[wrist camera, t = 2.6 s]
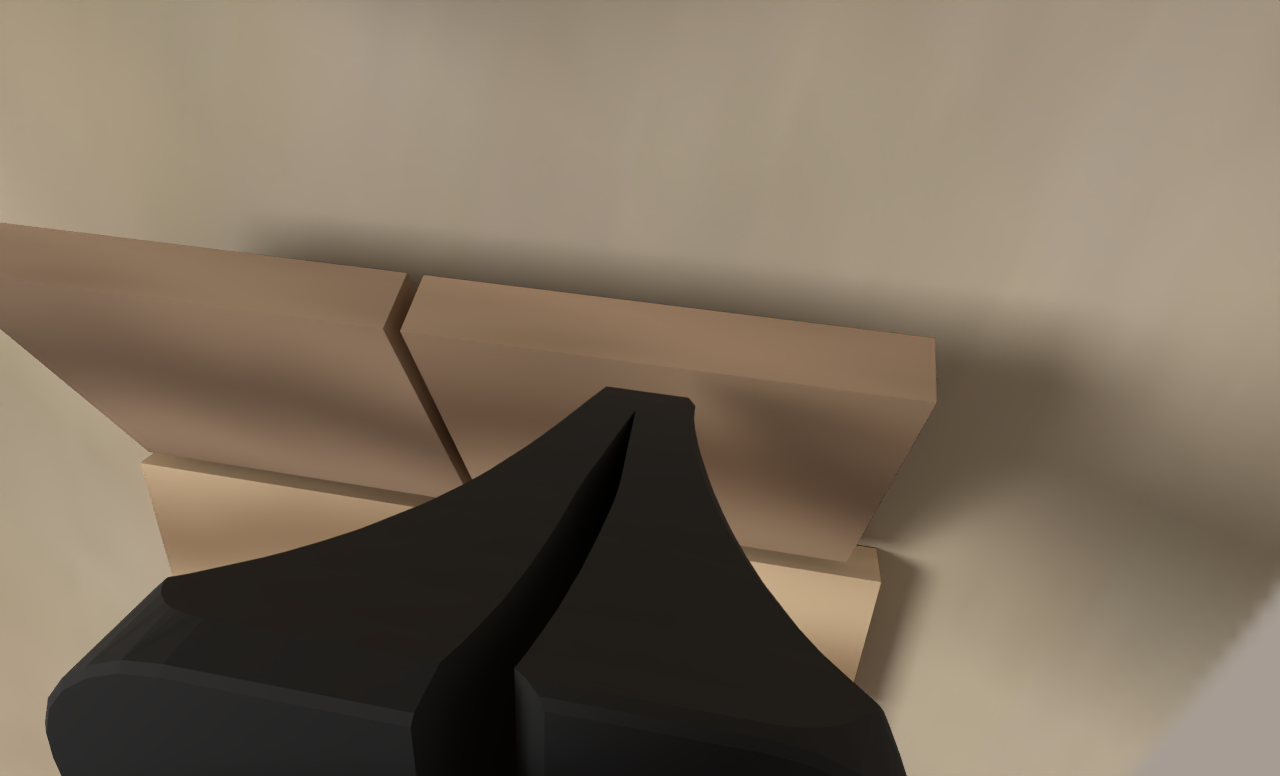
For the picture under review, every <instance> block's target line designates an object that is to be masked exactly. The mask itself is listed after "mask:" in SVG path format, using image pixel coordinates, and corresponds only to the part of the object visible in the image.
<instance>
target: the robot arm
mask: <svg viewBox="0 0 1280 776" xmlns="http://www.w3.org/2000/svg"><path fill="white" fill-rule="evenodd" d="M694 415H695V405H694V404H693V402H692V401H691V400H690V399H689V398H688V397H680V396H673V395H666V394H659V393H651V392H644V391H637V390H630V389H622V388H615V387H608V386H606V387H605V388H603V389H602V390H601V391H599V392H598V393H597V394H595V395H594V396H592V397H591V398H590V399H589V400H587V401H586V402H585V403H583V404H582V405H581V406H580V407H578V408H577V409H576V410H575V411H573V412H572V413H571V414H569V415H568V416H567V417H565V418H564V419H563V420H562V421H560V422H559V423H558V424H556V425H555V426H554V427H552V428H551V429H550V430H548V431H547V432H545V433H544V434H543V435H541V436H540V437H539V438H537V439H536V440H534V441H533V442H532V443H530V444H529V445H527V446H526V447H524V448H523V449H521V450H520V451H518V452H516V453H515V454H513V455H512V456H510V457H509V458H507V459H505V460H504V461H502V462H501V463H499V464H498V465H496V466H495V467H493V468H491V469H490V470H488V471H486V472H485V473H483V474H481V475H479V476H478V477H476V478H474V479H472V480H470V481H468V482H466V483H465V484H463V485H461V486H459V487H457V488H455V489H453V490H451V491H449V492H446V493H444V494H442V495H440V496H438V497H436V498H434V499H432V500H430V501H428V502H426V503H423V504H421V505H419V506H416V507H414V508H411V509H408V510H406V511H403V512H401V513H398V514H396V515H393V516H391V517H388V518H386V519H383V520H381V521H378V522H376V523H373V524H371V525H368V526H366V527H363V528H360V529H357V530H355V531H351V532H348V533H345V534H342V535H339V536H336V537H333V538H330V539H327V540H324V541H320V542H317V543H313V544H310V545H306V546H303V547H300V548H296V549H293V550H289V551H286V552H282V553H278V554H274V555H270V556H266V557H262V558H258V559H253V560H249V561H244V562H239V563H235V564H230V565H226V566H221V567H216V568H212V569H207V570H203V571H198V572H193V573H189V574H183V575H178V576H172V577H167V578H166V579H165V580H164V581H163V582H162V583H161V584H160V585H158V586H157V587H156V588H155V589H154V590H153V591H152V592H151V593H150V594H149V595H148V596H147V597H146V598H145V599H144V600H143V601H142V602H141V603H140V604H139V605H137V606H136V607H135V608H134V609H133V610H132V611H131V612H130V613H129V614H128V615H127V616H126V617H125V618H124V619H123V620H122V621H121V622H120V623H119V624H118V625H117V626H116V627H115V628H114V629H113V630H112V631H110V632H109V633H108V634H107V635H106V636H105V637H104V638H103V639H102V640H101V641H100V642H99V643H98V644H97V645H96V646H95V647H94V648H93V649H92V650H91V651H90V652H89V653H88V654H87V655H86V656H85V657H83V658H82V659H81V660H80V661H79V662H78V663H77V664H76V665H75V666H74V667H73V668H72V669H71V670H70V671H69V672H68V673H67V674H66V675H65V676H64V677H63V678H62V679H61V680H60V682H59V683H58V685H57V686H56V687H55V689H54V690H53V692H52V693H51V694H50V696H49V697H48V703H47V711H46V720H45V725H46V734H47V737H48V741H49V744H50V748H51V751H52V755H53V758H54V760H55V763H56V765H57V767H58V769H59V771H60V774H61V776H907V775H906V772H905V769H904V766H903V763H902V760H901V756H900V753H899V751H898V748H897V745H896V742H895V740H894V737H893V734H892V731H891V729H890V726H889V723H888V721H887V718H886V716H885V713H884V711H883V710H882V708H881V707H880V706H879V705H878V704H877V703H876V702H875V701H874V700H873V699H872V698H870V697H869V696H868V695H867V694H866V693H865V692H864V691H863V690H862V689H861V688H859V687H858V686H857V685H856V684H855V683H854V682H853V681H852V680H851V679H850V678H848V677H847V676H846V675H845V674H844V673H843V672H842V671H841V670H840V669H839V668H837V667H836V666H835V665H834V664H833V663H832V662H831V661H830V660H829V659H828V658H826V657H825V656H824V655H823V654H822V653H821V652H820V651H819V650H818V649H817V648H816V646H815V645H814V644H813V643H812V642H811V641H810V640H809V639H808V638H807V637H806V636H805V635H804V633H803V632H802V631H801V630H800V629H799V628H798V627H797V625H796V624H795V623H794V621H793V620H792V619H791V618H790V616H789V615H788V614H787V612H786V611H785V610H784V609H783V607H782V606H781V605H780V603H779V602H778V601H777V600H776V598H775V597H774V596H773V595H772V593H771V592H770V591H769V589H768V588H767V587H766V586H765V584H764V583H763V581H762V580H761V578H760V577H759V575H758V574H757V572H756V570H755V569H754V567H753V566H752V564H751V563H750V561H749V560H748V558H747V557H746V555H745V553H744V551H743V550H742V548H741V546H740V544H739V543H738V541H737V539H736V538H735V536H734V534H733V532H732V530H731V528H730V526H729V524H728V522H727V520H726V518H725V516H724V514H723V512H722V509H721V507H720V505H719V502H718V500H717V498H716V496H715V493H714V491H713V488H712V486H711V483H710V480H709V478H708V475H707V471H706V468H705V465H704V462H703V459H702V456H701V453H700V449H699V445H698V441H697V436H696V431H695V423H694Z"/></svg>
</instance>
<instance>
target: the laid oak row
mask: <svg viewBox="0 0 1280 776" xmlns="http://www.w3.org/2000/svg"><path fill="white" fill-rule="evenodd" d="M140 464H141V467H142V471H143V474H144V477H145V481H146V484H147V488H148V491H149V495H150V498H151V502H152V505H153V509H154V512H155V516H156V519H157V523H158V526H159V530H160V533H161V537H162V540H163V544H164V547H165V551H166V554H167V558H168V561H169V565H170V568H171V572H172V575H173V576H178V575H183V574H189V573H193V572H198V571H203V570H207V569H212V568H216V567H221V566H226V565H230V564H235V563H239V562H244V561H249V560H253V559H258V558H262V557H266V556H270V555H274V554H278V553H282V552H286V551H289V550H293V549H296V548H300V547H303V546H306V545H310V544H313V543H317V542H320V541H324V540H327V539H330V538H333V537H336V536H339V535H342V534H345V533H348V532H351V531H355V530H357V529H360V528H363V527H366V526H368V525H371V524H373V523H376V522H378V521H381V520H383V519H386V518H388V517H391V516H393V515H396V514H398V513H401V512H403V511H406V510H408V509H411V508H414V507H416V506H419V505H421V504H423V503H426V502H428V501H430V500H432V499H434V498H436V497H430V496H424V495H418V494H411V493H405V492H399V491H393V490H386V489H380V488H374V487H367V486H361V485H355V484H348V483H342V482H336V481H330V480H323V479H317V478H311V477H304V476H298V475H292V474H285V473H279V472H273V471H267V470H260V469H254V468H248V467H241V466H235V465H229V464H222V463H216V462H210V461H204V460H197V459H191V458H185V457H178V456H172V455H166V454H159V453H153V454H152V455H150V456H149V457H148V458H146V459H145V460H144V461H142V462H141V463H140ZM741 548H742V550H743V551H744V553H745V555H746V557H747V558H748V560H749V561H750V563H751V564H752V566H753V567H754V569H755V570H756V572H757V574H758V575H759V577H760V578H761V580H762V581H763V583H764V584H765V586H766V587H767V588H768V589H769V591H770V592H771V593H772V595H773V596H774V597H775V598H776V600H777V601H778V602H779V603H780V605H781V606H782V607H783V609H784V610H785V611H786V612H787V614H788V615H789V616H790V618H791V619H792V620H793V621H794V623H795V624H796V625H797V627H798V628H799V629H800V630H801V631H802V632H803V633H804V635H805V636H806V637H807V638H808V639H809V640H810V641H811V642H812V643H813V644H814V645H815V646H816V648H817V649H818V650H819V651H820V652H821V653H822V654H823V655H824V656H825V657H826V658H828V659H829V660H830V661H831V662H832V663H833V664H834V665H835V666H836V667H837V668H839V669H840V670H841V671H842V672H843V673H844V674H845V675H846V676H847V677H848V678H850V679H851V680H852V681H853V682H854V680H855V676H856V672H857V669H858V665H859V661H860V658H861V654H862V650H863V647H864V643H865V639H866V636H867V632H868V629H869V625H870V621H871V618H872V614H873V610H874V607H875V603H876V599H877V596H878V592H879V588H880V585H881V578H880V571H879V564H878V557H877V551H876V548H870V547H863V546H857V545H856V547H855V548H854V550H853V552H852V554H851V555H850V557H849V559H848V561H847V563H846V562H840V561H833V560H827V559H821V558H815V557H808V556H802V555H796V554H789V553H783V552H777V551H770V550H764V549H758V548H752V547H745V546H741Z"/></svg>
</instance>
